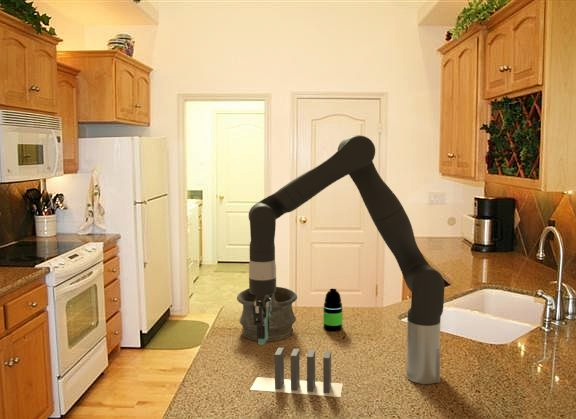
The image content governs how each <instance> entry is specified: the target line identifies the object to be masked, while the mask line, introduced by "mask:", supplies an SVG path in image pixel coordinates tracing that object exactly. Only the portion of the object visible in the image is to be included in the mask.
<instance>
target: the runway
mask: <svg viewBox="0 0 576 419" xmlns="http://www.w3.org/2000/svg"><path fill="white" fill-rule="evenodd" d="M343 386H344V383H341V382H340V383H339V382H338V383H337V382H331V388H330V392H329V393H323V381H316V380H315V386H314V390H313V392H307V380H302V379H300V383H299V386H298V388H297V391H294V390H291V378H290V379H289V378H287V379H286V378H284V383H283V385H282V387H281V389H275V377H274V378H273V377H264V376H263V377H261V376H257V377H256V378H255V380H254V381H253V384H252V386H251V387H250V389H249V391H262V392H272V393H273V392H275V393H286V394H299V395H310V396H322V397H323V396H324V397H325V396H326V397H337V398H341V397H342V390H343Z"/></svg>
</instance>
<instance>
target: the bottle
mask: <svg viewBox="0 0 576 419" xmlns="http://www.w3.org/2000/svg"><path fill="white" fill-rule="evenodd" d="M324 298H325V299H324V302H323V327H322V328H323V329H324V331H327V332H331V333H332V332H334V333H335V332H340V331H342V330H343V329H344V328H343V302H342V297H341V293H340V292H339V291H337V288H330V289H329V290H328V291H327V292H326V294H325V297H324Z"/></svg>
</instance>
